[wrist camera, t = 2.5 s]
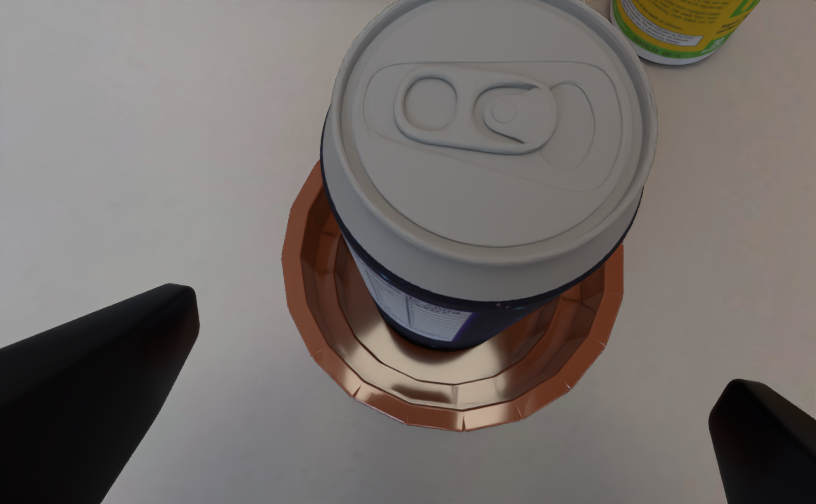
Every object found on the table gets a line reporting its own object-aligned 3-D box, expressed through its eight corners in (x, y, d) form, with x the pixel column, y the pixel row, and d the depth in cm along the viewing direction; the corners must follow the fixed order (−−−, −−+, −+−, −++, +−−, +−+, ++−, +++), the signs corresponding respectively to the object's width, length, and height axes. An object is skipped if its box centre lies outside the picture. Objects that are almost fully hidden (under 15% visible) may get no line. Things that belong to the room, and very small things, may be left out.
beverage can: (509, 364, 18) (687, 323, 6) (359, 340, 18) (263, 259, 7) (523, 221, 19) (687, -25, 8) (384, 201, 20) (343, -64, 8)
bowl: (629, 332, 18) (695, 315, 14) (391, 475, 17) (383, 505, 13) (486, 122, 21) (505, 52, 17) (269, 232, 20) (229, 189, 15)
